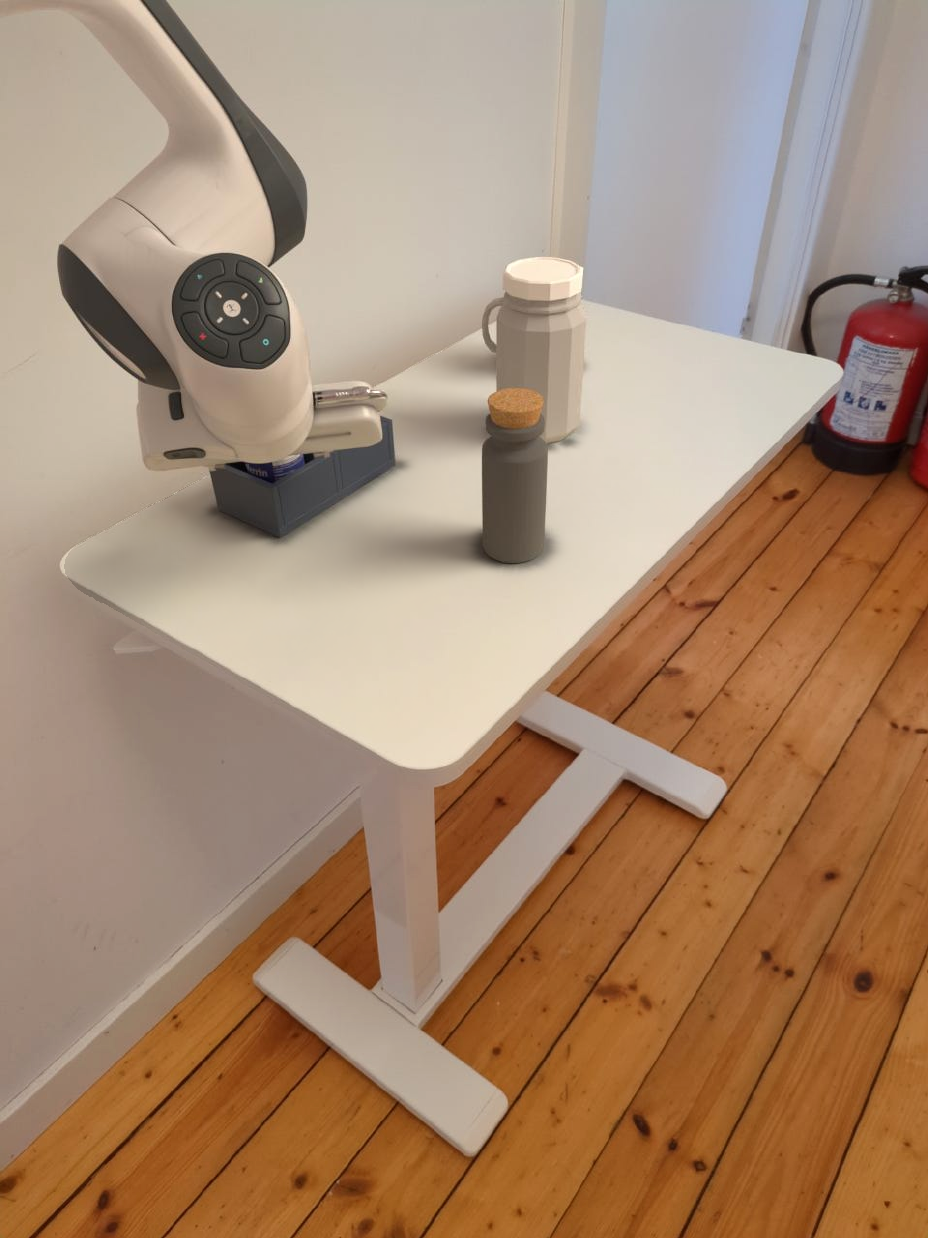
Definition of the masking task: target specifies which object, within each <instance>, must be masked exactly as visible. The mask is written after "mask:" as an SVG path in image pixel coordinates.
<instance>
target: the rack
mask: <svg viewBox="0 0 928 1238" xmlns="http://www.w3.org/2000/svg"><path fill="white" fill-rule="evenodd" d="M380 421H381V428H382V440H381V441H380V442H378V443H376V444H374V445H372V446H367V447H358V448H349V449H341V450H334V451H332V452H330V457H325V458H316V459H314V455H313V453H308V454H303V456H304V463H305V465H304V466H302V467H300V468H298V469H297V470H295V471H293V472H291V473H290V474H288V475H286V476H284V477H283V478H281V479H279V480H277V481H276V482H274V483H273V484H272V483H269V482H267V481H264V480H262V479H260V478H257V477H255V476H252V475H250V474H248V473H247V468H246V463H245V462H243V461H241V462H233V463H226V467H227V469H226V470H219V471H210V469H209V468H208V472H209V475H210V480H211V484H212V489H213V493H214V498H215V502H216V507H217V510H218V511H219V512H222V513H224V514H226V515H229V516H231V517H233V518H235V519H238V520H239V521H242V522H244V523H247V524H248V525H251V526H253V527H255V528H257V529H259V530H262V531H264V532H266V533H268V534H270V535H273V536H275V537H277V538H279V539H282V538H283V537H285V536H286V535H288V534H289V533H291V532H293V531H294V530H296V529H298V528H299V527H301V526H302V525H304V524H305V523H307V522H308V521H310V520H312V519H313V518H315V517H317V516H318V515H320V514H321V513H323V512H324V511H326V510H328V509H329V508H330V507H333V506H334V505H336V504H337V503H339V502H340V501H342V500H343V499H345V498H347V497H348V496H350V495H351V494H353V493H355V492H356V491H358V490H360V489H361V488H362V487H364V486H366V485H367V484H369V483H370V482H372V481H374V480H375V479H377V478H378V477H380V476H381V475H383V474H385V473H386V472H388V471H389V470H391V469H393V468H394V467H396V465H397V464H396V453H395V452H396V451H395V440H394V439H395V438H394V427H393V425H394V424H393V419H392V418H389V417H386V416H383V415H380Z"/></svg>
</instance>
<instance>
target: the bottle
mask: <svg viewBox="0 0 928 1238" xmlns="http://www.w3.org/2000/svg"><path fill="white" fill-rule="evenodd" d="M487 405H488V409H489V410H488V411H489V413H488V414H487V416H486V417H485V432H486V433H487V434H488V435H489V436H488V438H486V439H485V440H484V441H483V443H482V446H481V518H482V519H481V520H482V528H481V529H482V548H483V550H484V553H485V554H486V555H487V556H488V557H490V558H492V559H493V560H495V561H498V562H500V563H505V564H506V563H507V564H520V563H526V562H530V561H532V560H534V559H537V558H538V557H539V556H540V555H541V554H542V552H543V551H544V547H545V538H546V536H545V535H546V518H547V517H546V515H547V514H546V513H547V493H548V492H547V490H548V466H549V465H548V463H549V447H548V443H546V442H545V441H544V440H543V439H542V438H541V437H540V435H541V434H542V433H543V432H544V429H545V419H544V416H543V415H542V414H541V409H542V405H543V398H542V396H541V395H540V394H538V393H537V392H535V391H532V390H528V389H523V388H509V389H503V390H499V391H497V392H496V391H495V392H493V393H492V394H490V395H489V396H488V398H487Z"/></svg>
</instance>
